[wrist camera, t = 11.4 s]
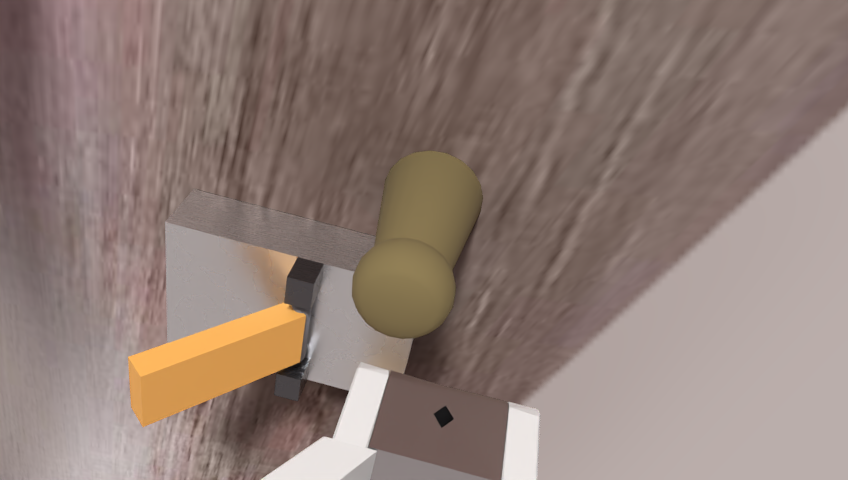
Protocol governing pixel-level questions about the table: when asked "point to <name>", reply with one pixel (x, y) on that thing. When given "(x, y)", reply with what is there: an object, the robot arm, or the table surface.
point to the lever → (216, 361)
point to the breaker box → (273, 284)
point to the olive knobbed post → (417, 245)
